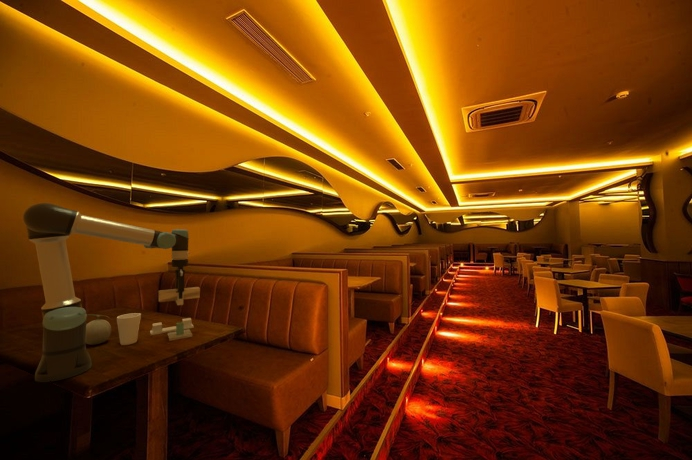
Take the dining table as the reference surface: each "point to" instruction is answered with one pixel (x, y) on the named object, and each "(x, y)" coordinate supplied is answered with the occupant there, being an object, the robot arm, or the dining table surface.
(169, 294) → the bar
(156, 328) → the beige bracket
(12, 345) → the dining table surface
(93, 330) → the fruit
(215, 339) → the dining table surface
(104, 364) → the dining table surface
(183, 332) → the fulcrum
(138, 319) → the foam cup
